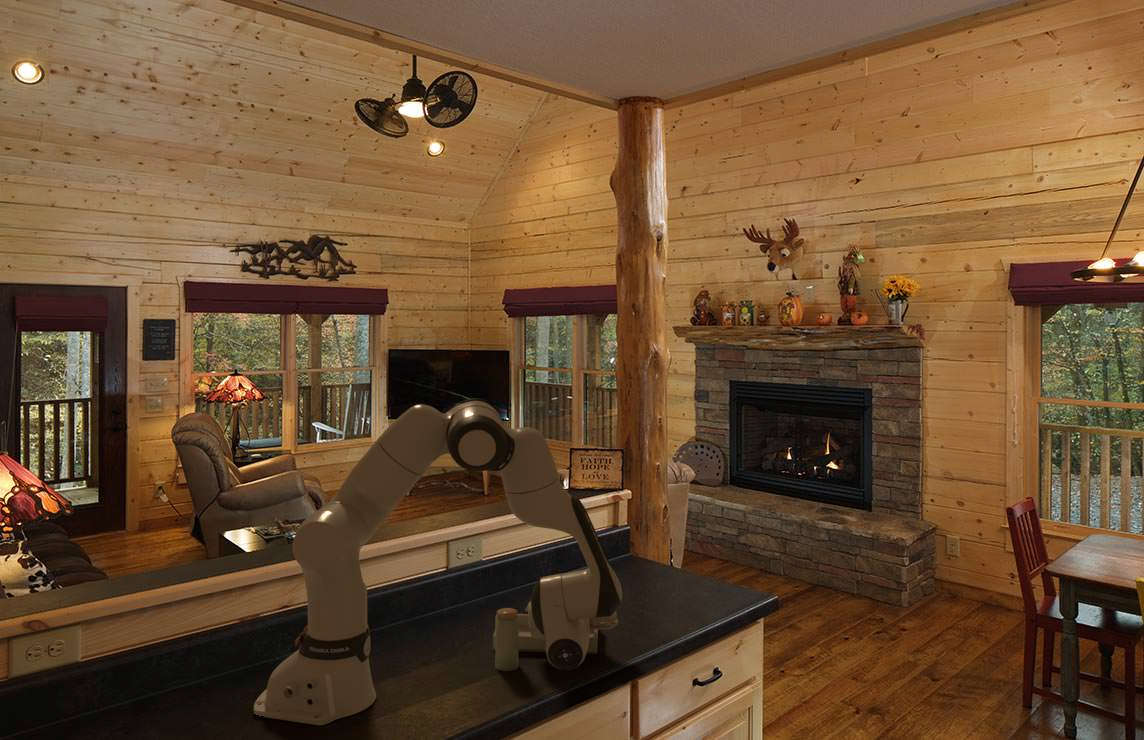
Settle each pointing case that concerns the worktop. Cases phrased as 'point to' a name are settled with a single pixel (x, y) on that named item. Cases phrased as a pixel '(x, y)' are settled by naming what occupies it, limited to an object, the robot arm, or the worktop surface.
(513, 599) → the worktop surface
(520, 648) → the beige tray
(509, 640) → the sage jar
